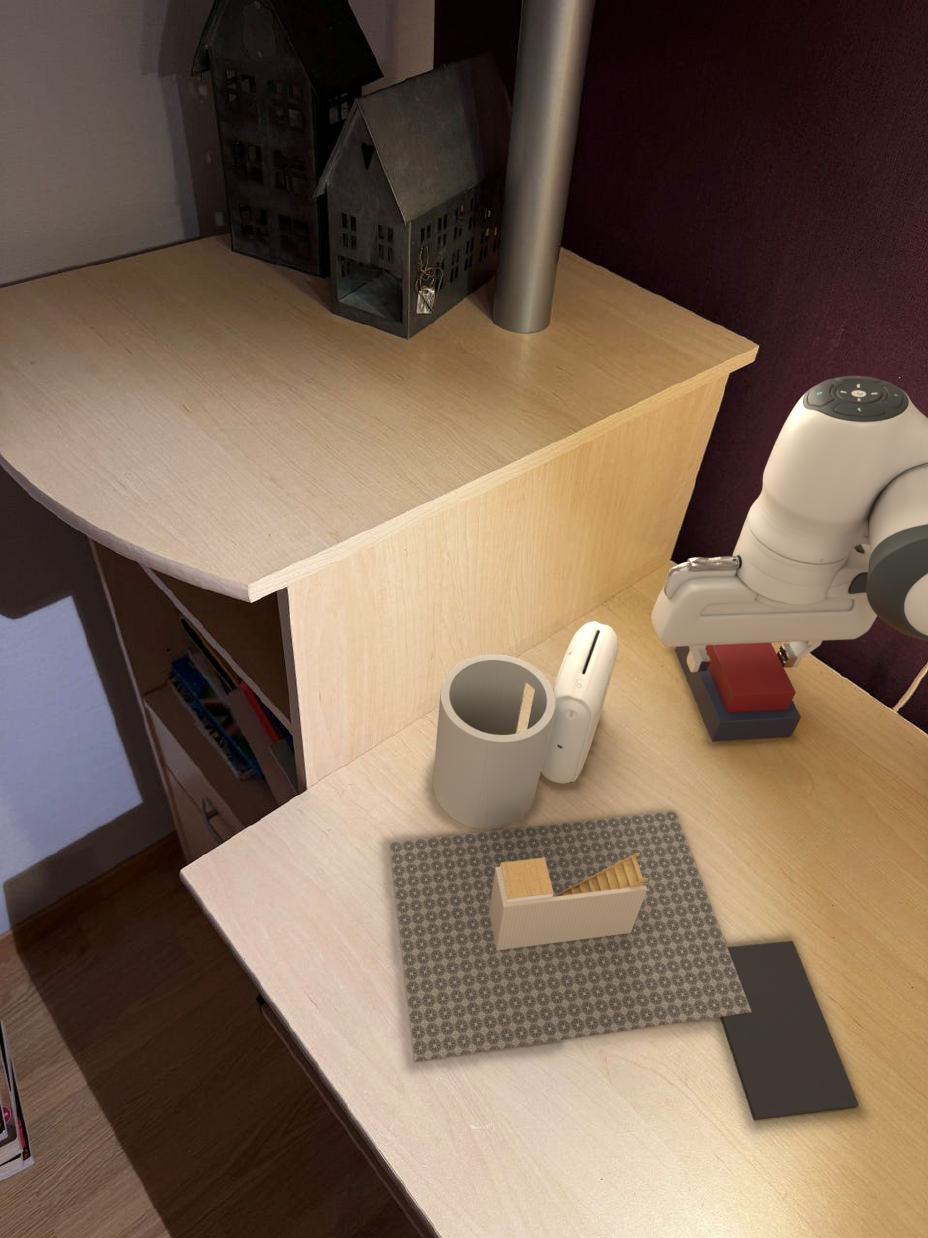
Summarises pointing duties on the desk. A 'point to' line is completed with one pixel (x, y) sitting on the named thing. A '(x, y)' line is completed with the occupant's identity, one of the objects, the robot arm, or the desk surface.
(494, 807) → the cup
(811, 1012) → the felt pad
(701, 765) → the desk surface
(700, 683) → the navy hardback
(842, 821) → the desk surface
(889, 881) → the desk surface
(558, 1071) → the desk surface
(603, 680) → the photo printer
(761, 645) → the burgundy notebook
